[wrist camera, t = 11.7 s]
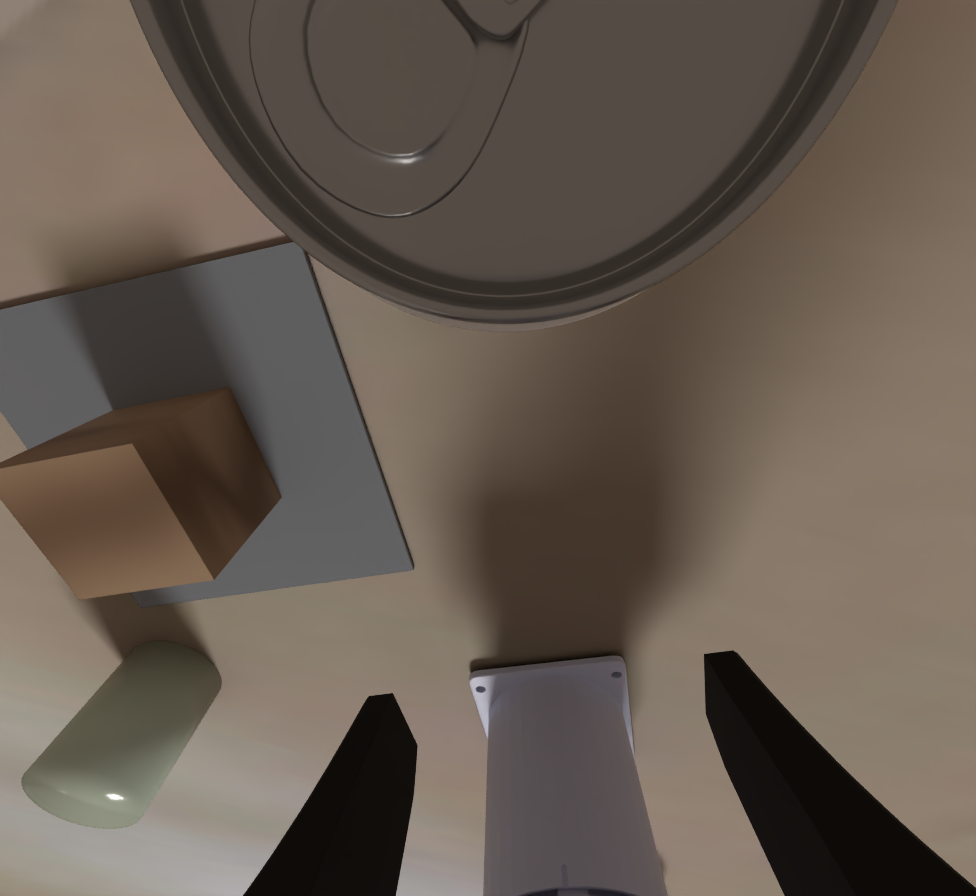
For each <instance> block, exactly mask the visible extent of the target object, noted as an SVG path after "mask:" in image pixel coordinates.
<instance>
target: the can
mask: <svg viewBox="0 0 976 896" xmlns="http://www.w3.org/2000/svg"><path fill="white" fill-rule="evenodd" d="M130 2H131V4H132V7H133V9H134V12H135V14H136V17H137V19H138V21H139V24H140V26H141V28H142V30H143V33H144V35H145V37H146V39H147V42H148V44H149V46H150V48H151V50H152V52H153V54H154V56H155V58H156V60H157V62H158V64H159V66H160V68H161V70H162V72H163V74H164V76H165V78H166V80H167V82H168V83H169V85H170V87H171V89H172V91H173V93H174V94H175V96H176V98H177V100H178V101H179V103H180V105H181V106H182V108H183V110H184V112H185V113H186V115H187V116H188V118H189V120H190V121H191V123H192V124H193V126H194V127H195V129H196V131H197V132H198V134H199V135H200V136H201V138H202V139H203V141H204V142H205V144H206V145H207V147H208V148H209V150H210V151H211V152H212V154H213V155H214V156H215V158H216V159H217V160H218V162H219V163H220V165H221V166H222V167H223V168H224V170H225V171H226V172H227V173H228V175H229V176H230V177H231V178H232V180H233V181H234V182H235V183H236V184H237V186H238V187H239V188H240V189H241V190H242V191H243V193H244V194H245V195H246V196H247V197H248V198H249V199H250V200H251V201H252V203H253V204H254V205H255V206H256V207H257V208H258V209H259V210H260V211H261V212H262V213H263V214H264V215H265V216H266V217H267V218H268V219H269V220H270V221H271V222H272V223H273V224H274V225H275V226H276V227H277V228H278V229H280V230H281V231H282V232H283V233H284V234H285V235H286V236H287V237H288V238H290V239H291V240H292V241H293V242H294V243H296V244H297V245H298V246H299V247H300V248H302V249H303V250H304V251H306V252H307V253H308V254H309V255H311V256H312V257H313V258H315V259H316V260H318V261H319V262H320V263H322V264H323V265H325V266H326V267H327V268H329V269H331V270H332V271H334V272H335V273H337V274H338V275H340V276H341V277H343V278H345V279H347V280H348V281H350V282H352V283H353V284H355V285H357V286H359V287H360V288H362V289H363V290H365V291H366V292H368V293H370V294H372V295H373V296H375V297H377V298H378V299H380V300H382V301H384V302H386V303H388V304H390V305H392V306H394V307H396V308H398V309H400V310H403V311H405V312H407V313H410V314H412V315H415V316H418V317H420V318H423V319H426V320H429V321H433V322H436V323H440V324H444V325H448V326H452V327H457V328H462V329H469V330H477V331H488V332H520V331H531V330H539V329H546V328H551V327H556V326H561V325H565V324H569V323H573V322H576V321H579V320H583V319H586V318H589V317H591V316H594V315H597V314H599V313H602V312H604V311H607V310H609V309H611V308H613V307H616V306H618V305H620V304H622V303H624V302H626V301H628V300H630V299H631V298H633V297H635V296H637V295H639V294H640V293H642V292H644V291H645V290H647V289H649V288H650V287H652V286H654V285H656V284H658V283H660V282H662V281H663V280H665V279H667V278H669V277H670V276H672V275H674V274H675V273H677V272H679V271H680V270H682V269H683V268H685V267H686V266H688V265H690V264H691V263H692V262H694V261H695V260H697V259H698V258H700V257H701V256H702V255H704V254H705V253H707V252H708V251H709V250H710V249H712V248H713V247H714V246H716V245H717V244H718V243H720V242H721V241H722V240H723V239H724V238H726V237H727V236H728V235H729V234H730V233H732V232H733V231H734V230H735V229H736V228H737V227H739V226H740V225H741V224H742V223H743V222H744V221H745V220H746V219H747V218H749V217H750V216H751V215H752V214H753V213H754V212H755V211H756V210H757V209H758V208H759V207H760V206H761V205H762V204H763V203H764V202H765V201H766V200H767V199H768V198H769V197H770V196H771V194H772V193H773V192H774V191H775V190H776V189H777V188H778V187H779V186H780V185H781V184H782V183H783V181H784V180H785V179H786V178H787V177H788V176H789V175H790V173H791V172H792V171H793V170H794V169H795V167H796V166H797V165H798V164H799V163H800V161H801V160H802V159H803V158H804V156H805V155H806V154H807V153H808V151H809V150H810V149H811V147H812V146H813V145H814V143H815V142H816V141H817V139H818V138H819V137H820V135H821V134H822V133H823V131H824V130H825V128H826V127H827V125H828V124H829V123H830V121H831V120H832V118H833V117H834V115H835V114H836V112H837V111H838V109H839V108H840V106H841V105H842V103H843V102H844V100H845V99H846V97H847V95H848V94H849V92H850V90H851V89H852V87H853V86H854V84H855V82H856V81H857V79H858V77H859V76H860V74H861V72H862V70H863V69H864V67H865V65H866V63H867V61H868V60H869V58H870V56H871V54H872V52H873V51H874V49H875V47H876V45H877V43H878V41H879V39H880V37H881V35H882V33H883V31H884V29H885V27H886V25H887V23H888V21H889V19H890V17H891V15H892V13H893V11H894V9H895V7H896V4H897V2H898V0H130Z"/></svg>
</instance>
